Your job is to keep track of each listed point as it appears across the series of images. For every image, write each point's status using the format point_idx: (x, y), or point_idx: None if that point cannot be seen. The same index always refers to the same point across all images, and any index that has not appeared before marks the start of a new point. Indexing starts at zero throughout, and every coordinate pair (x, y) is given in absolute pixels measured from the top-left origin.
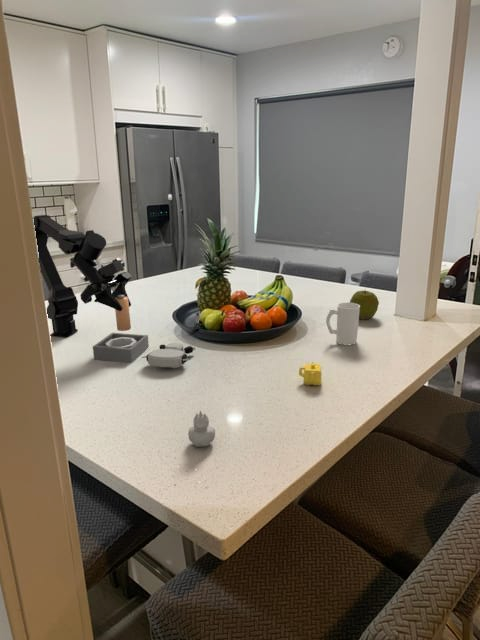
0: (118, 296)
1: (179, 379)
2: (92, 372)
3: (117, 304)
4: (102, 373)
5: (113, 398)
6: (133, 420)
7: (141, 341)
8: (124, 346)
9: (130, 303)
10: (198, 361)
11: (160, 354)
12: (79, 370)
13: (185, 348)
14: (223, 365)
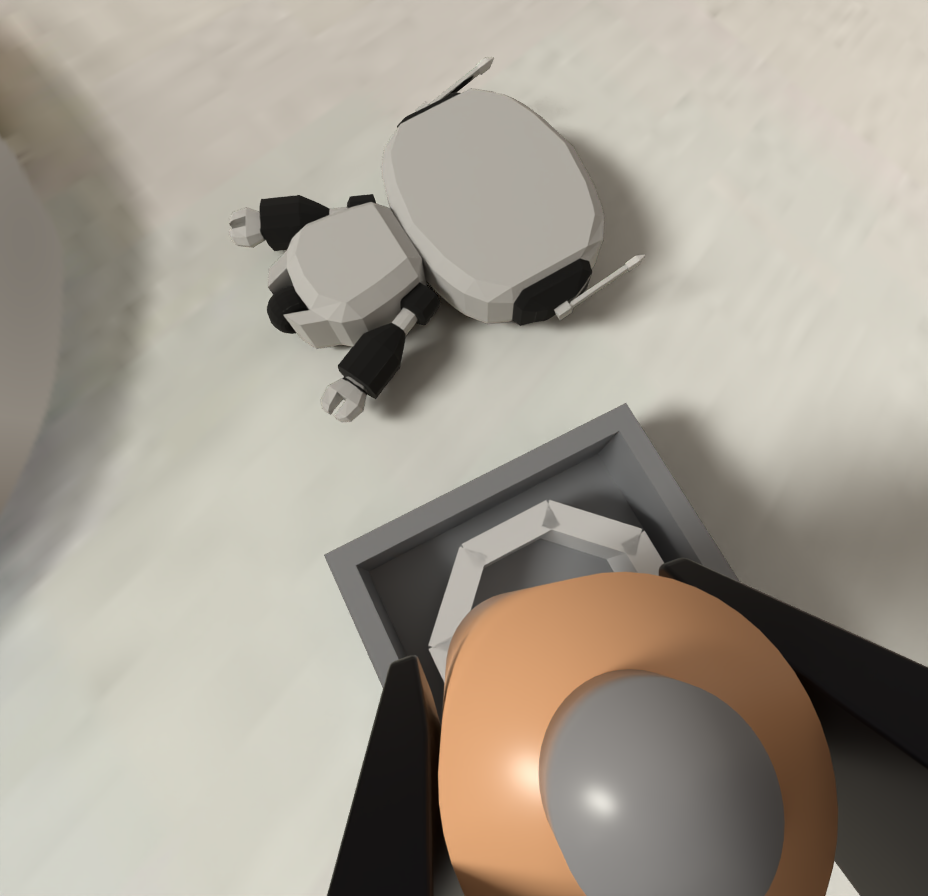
0: (777, 779)
1: (552, 101)
2: (859, 507)
3: (799, 612)
4: (816, 446)
5: (895, 178)
6: (905, 6)
7: (450, 492)
8: (599, 530)
9: (395, 677)
10: (326, 168)
11: (538, 188)
12: (917, 603)
13: (310, 211)
14: (290, 54)
